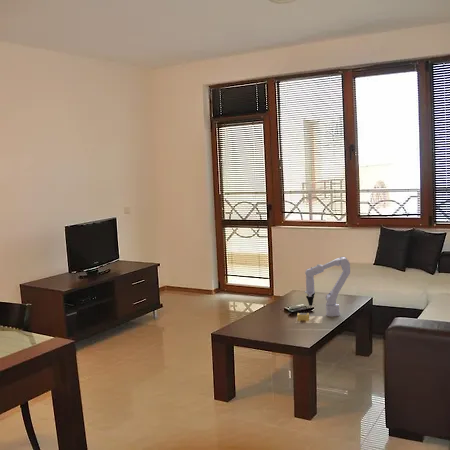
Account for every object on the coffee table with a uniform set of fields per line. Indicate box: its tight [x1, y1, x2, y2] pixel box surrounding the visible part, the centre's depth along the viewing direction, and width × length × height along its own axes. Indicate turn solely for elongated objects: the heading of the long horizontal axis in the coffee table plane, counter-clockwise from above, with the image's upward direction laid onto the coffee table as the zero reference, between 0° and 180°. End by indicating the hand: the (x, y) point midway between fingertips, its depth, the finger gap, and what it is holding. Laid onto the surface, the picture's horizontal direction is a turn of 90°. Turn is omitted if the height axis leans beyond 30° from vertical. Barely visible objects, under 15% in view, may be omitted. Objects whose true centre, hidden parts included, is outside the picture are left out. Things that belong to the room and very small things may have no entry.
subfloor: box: [294, 315, 323, 325], centre depth 387 cm, size 18×19×1 cm
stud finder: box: [296, 312, 310, 321], centre depth 388 cm, size 8×5×4 cm, turn 77°
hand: (311, 304), depth 396 cm, fingers open, 7 cm apart
